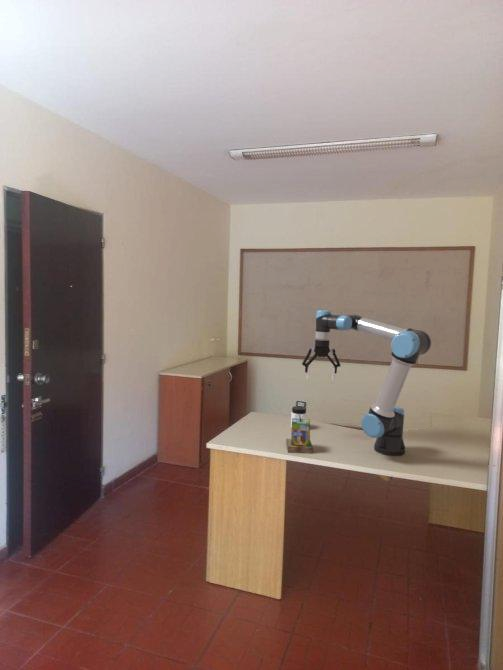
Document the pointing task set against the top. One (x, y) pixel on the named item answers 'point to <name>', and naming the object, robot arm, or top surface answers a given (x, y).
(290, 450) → the block
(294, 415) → the jar
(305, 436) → the chalk box
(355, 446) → the top surface
